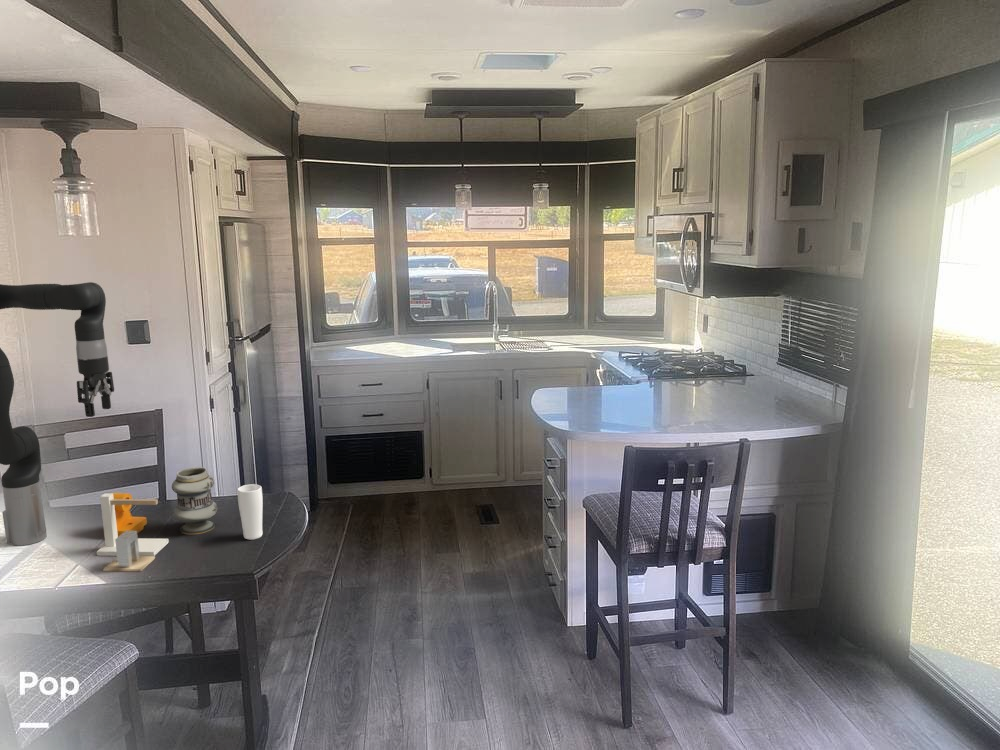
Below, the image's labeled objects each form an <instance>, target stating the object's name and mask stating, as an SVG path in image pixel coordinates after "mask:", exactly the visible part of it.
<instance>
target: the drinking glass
mask: <svg viewBox="0 0 1000 750" xmlns="http://www.w3.org/2000/svg"><path fill="white" fill-rule="evenodd" d="M263 499H264V498H263V488H262V486H261V485H259V484H256V483H252V484H249V483H248V484H244V485H241V486H240V487H238V488H237V503H238V509H239V515H240V521H241V526H242V534H243V538H244V539H246V540H251V541H252V540H258V539H260V538H262V536H263V535H264V534H263V533H264V532H263V505H264V504H263V501H264V500H263Z"/></svg>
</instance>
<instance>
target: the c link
mask: <svg viewBox="0 0 1000 750" xmlns="http://www.w3.org/2000/svg"><path fill="white" fill-rule="evenodd" d="M138 538H139V537H138V533H137V531H125V532H124V533H122V534H121V535H120V536H119V537H117V538H116V539H115V542H116V551H117V556H116V558H117V560H118V567H124V568H130V567H131V566H132V561H137V560H139V559H140V556H139V546H138Z"/></svg>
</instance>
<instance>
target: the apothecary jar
mask: <svg viewBox="0 0 1000 750" xmlns="http://www.w3.org/2000/svg"><path fill="white" fill-rule="evenodd" d="M214 485H215V479H214V477H213V476H211V475H210V474H209V473H208V469H207V468H206V467H201V466H200V467H199V466H198V467H197V466H196V467H194V466H193V467H188V468H184V469H181V470H179V471H177V473H176V477H175V479H174V480H173V482H172V484H171V489H172V492H174V493H175V494H176V497H177V506H176V508H175V510H174V513H173V514H174V517H175V519H177V520H178V521H180V522H181V523H184V524H183V525H181V526H180V528H179V531H180V532H181V534H184V535H188V536H189V535H191V536H194V535H201V534H204V533H208V532H210V531H212V530H213V529H214V528H215V527H216V524H215V523H214V522H213V521H210V520H209V519H211V518H212V517H213V516H215V514H216V513H217V511H218V505H217V503H216V502H215V501H214V500H213V497H212V488H213V487H214Z"/></svg>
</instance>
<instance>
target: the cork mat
mask: <svg viewBox="0 0 1000 750" xmlns="http://www.w3.org/2000/svg"><path fill="white" fill-rule="evenodd" d="M155 559H156V555H155V556H140V559H139V560H137V561H132V566H131V567H130V568H124V567H118V560H117V557H116V558H115V559H114V560H112V561H111V562H110V563H108V565H106V566H105V567H104V568H103V572H142V571H143V570H144V569H145V568H147V566H148V565H149V564H151V563H152V562H153V561H154V560H155Z"/></svg>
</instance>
